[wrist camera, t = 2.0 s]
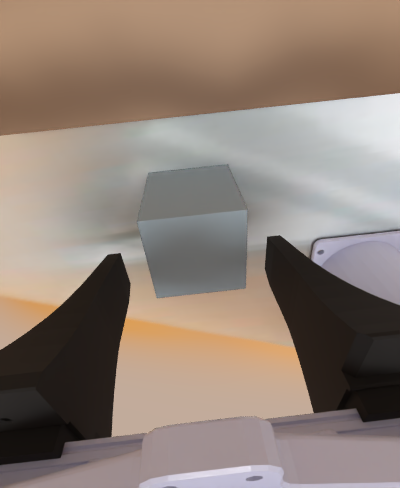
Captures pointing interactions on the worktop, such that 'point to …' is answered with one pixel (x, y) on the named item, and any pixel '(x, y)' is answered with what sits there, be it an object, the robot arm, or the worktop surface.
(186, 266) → the block
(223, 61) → the plinth
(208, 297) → the worktop surface
